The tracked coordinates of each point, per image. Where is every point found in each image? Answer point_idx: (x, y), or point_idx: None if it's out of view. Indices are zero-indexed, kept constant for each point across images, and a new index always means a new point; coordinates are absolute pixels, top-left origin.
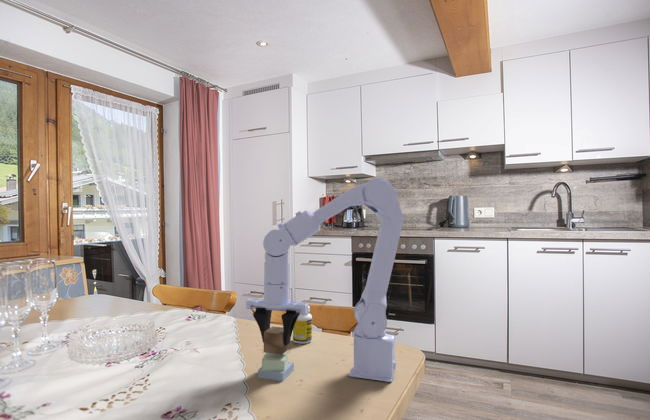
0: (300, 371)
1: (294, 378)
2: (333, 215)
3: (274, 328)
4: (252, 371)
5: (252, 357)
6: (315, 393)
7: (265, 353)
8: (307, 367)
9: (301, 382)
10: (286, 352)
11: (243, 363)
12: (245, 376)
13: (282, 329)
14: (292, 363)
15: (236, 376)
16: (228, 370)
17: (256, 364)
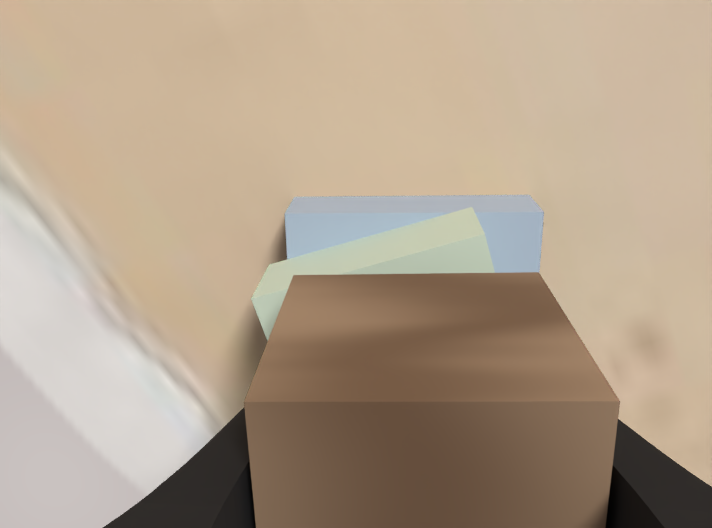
0: (596, 196)
1: (586, 333)
2: None
3: (338, 488)
4: (203, 322)
5: (8, 43)
6: None
7: (267, 338)
8: (638, 90)
9: (661, 377)
10: (475, 242)
11: (30, 204)
12: (206, 411)
13: (503, 503)
14: (536, 229)
15: (145, 429)
16: (18, 362)
17: (149, 186)
